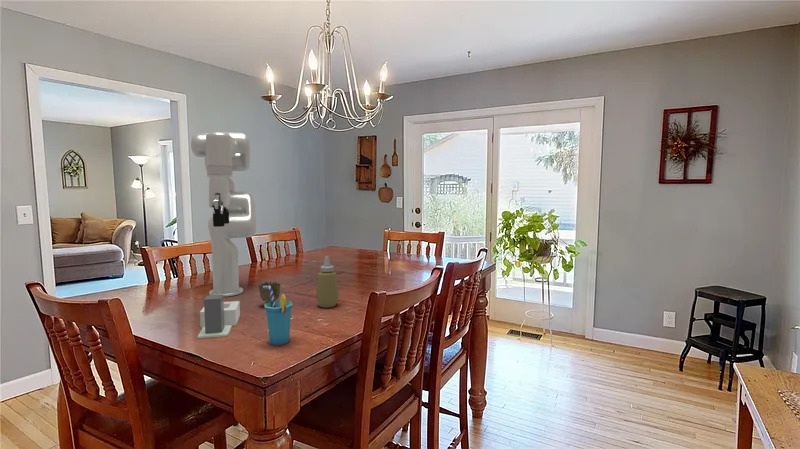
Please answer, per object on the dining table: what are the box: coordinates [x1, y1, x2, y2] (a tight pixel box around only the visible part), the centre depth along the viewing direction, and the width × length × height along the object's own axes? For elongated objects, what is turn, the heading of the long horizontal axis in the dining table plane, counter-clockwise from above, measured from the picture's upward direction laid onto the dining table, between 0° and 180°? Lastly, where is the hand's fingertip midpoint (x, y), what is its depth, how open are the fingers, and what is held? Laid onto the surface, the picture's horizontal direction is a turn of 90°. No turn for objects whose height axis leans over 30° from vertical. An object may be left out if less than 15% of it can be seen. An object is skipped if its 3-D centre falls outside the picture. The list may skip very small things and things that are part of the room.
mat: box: [197, 325, 233, 339], centre depth 122 cm, size 8×8×1 cm
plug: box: [203, 295, 225, 334], centre depth 121 cm, size 4×4×10 cm
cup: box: [263, 286, 293, 346], centre depth 115 cm, size 14×8×15 cm, turn 46°
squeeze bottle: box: [315, 255, 340, 309], centre depth 148 cm, size 8×8×18 cm
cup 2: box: [258, 281, 281, 304], centre depth 149 cm, size 8×7×8 cm
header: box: [199, 300, 241, 329], centre depth 131 cm, size 10×10×5 cm
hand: (221, 224), depth 135 cm, fingers open, 9 cm apart
